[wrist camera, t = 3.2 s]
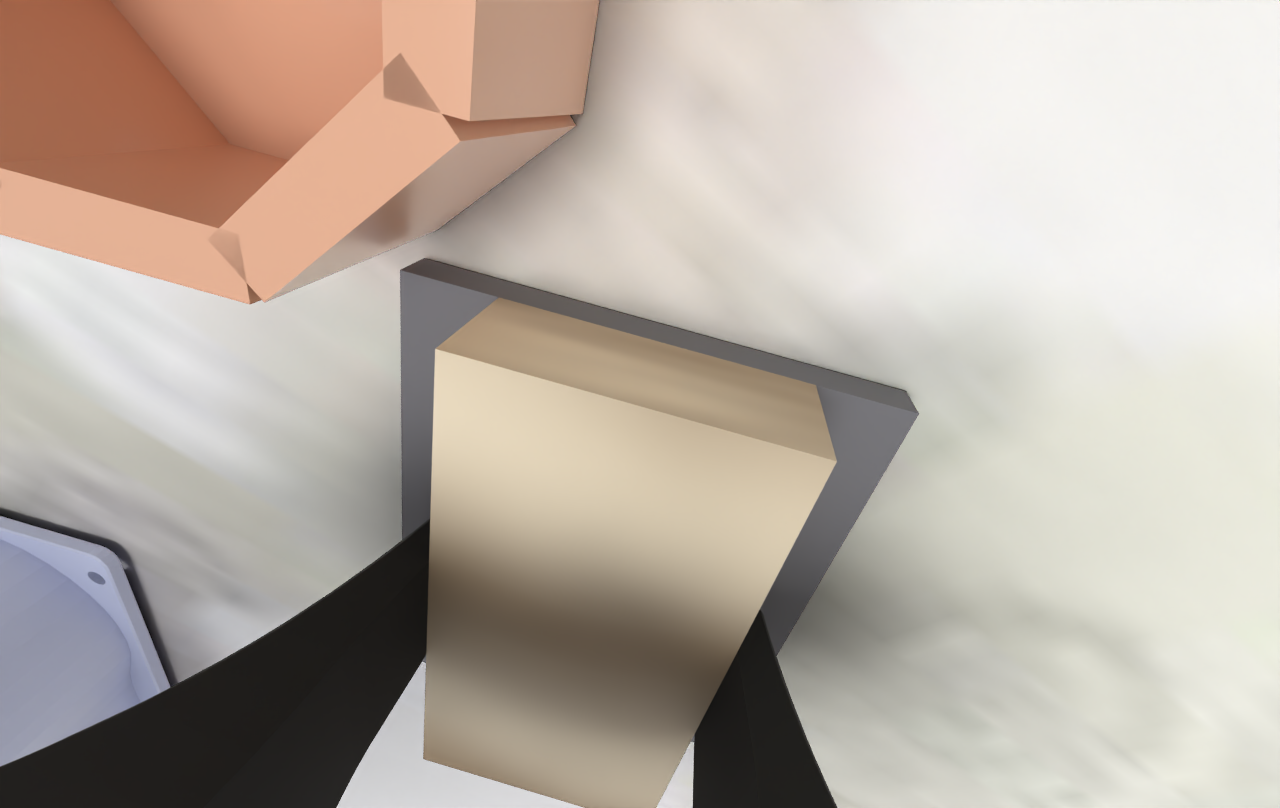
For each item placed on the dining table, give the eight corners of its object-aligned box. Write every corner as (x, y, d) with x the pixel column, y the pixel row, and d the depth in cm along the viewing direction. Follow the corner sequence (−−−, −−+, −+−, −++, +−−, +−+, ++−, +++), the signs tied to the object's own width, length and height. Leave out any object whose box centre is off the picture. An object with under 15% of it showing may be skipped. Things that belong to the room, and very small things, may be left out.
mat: (721, 720, 15) (720, 749, 14) (418, 631, 15) (403, 655, 15) (905, 391, 10) (918, 414, 9) (424, 258, 10) (400, 269, 9)
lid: (658, 731, 14) (646, 826, 13) (464, 674, 15) (423, 758, 13) (816, 385, 9) (836, 461, 7) (498, 297, 9) (434, 348, 7)
